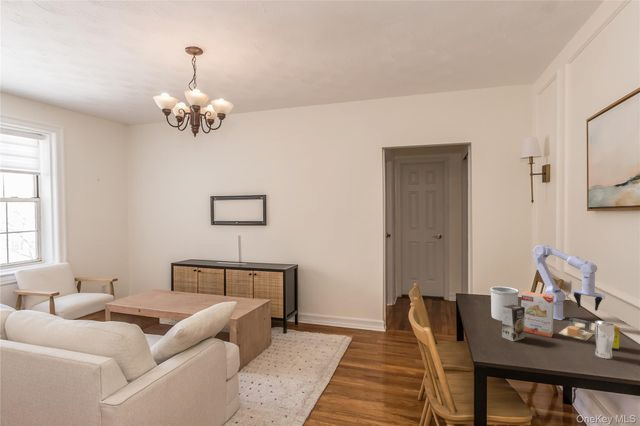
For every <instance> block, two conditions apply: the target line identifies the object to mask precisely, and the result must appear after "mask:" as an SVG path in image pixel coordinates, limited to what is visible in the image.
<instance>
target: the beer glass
mask: <svg viewBox="0 0 640 426" xmlns="http://www.w3.org/2000/svg"><path fill="white" fill-rule="evenodd" d="M594 324H595V327H594V341H595V345H596V346H595V347H596V348H595V351H594V355H595V356H596V357H599V358H601V359H604V358H605V359H606V360H612V359H613V352H612V345H613V341H614V325H615V324H614V323H612V322H609V321H605V320H594Z"/></svg>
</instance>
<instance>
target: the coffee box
mask: <svg viewBox="0 0 640 426" xmlns="http://www.w3.org/2000/svg"><path fill="white" fill-rule="evenodd" d="M501 322H502V325H501V326H502V327H501V338H503V339H506V340H508V341H511V342H517V341H520V340H523V339H525V332H524V322H525V307H522V306H521V305H519V304H518V305H508V306H503V320H502V321H501Z"/></svg>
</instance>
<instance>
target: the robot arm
mask: <svg viewBox="0 0 640 426" xmlns="http://www.w3.org/2000/svg"><path fill="white" fill-rule="evenodd" d="M532 253H533V262H534V265H535V266H536V268H537V271H538V272H539V275H540V277H541V279H542V281H543V283H544V286H545V287H546V289H545V295H552V296H554V312H553V320H558V321H563V320H564V319H565V318H566V316H564V301H565V300H566V294H565V293H564V292H563V291H562V289H561V288H560V287H559V286H557V284H556V281H555V279H554V277H553V275H552V273H551V271H550V269H549V267H548V265H547V263H546V260H547V258H548V257H549V256H555V257H557V258H559V259H562V260H564V261H566V262H567V265H569V266H571V267H573V268H576V269H578V270H580V272H581V290H579V289H571V294H573V297H574V299H575V301H576V304H577V308H580V307H581V306H582V305H581V304H582V303H581V301H582V296H588V297H593V298H594V301H595V302H594V303H595V305H594V311H597V312H598V310H599V305H600V304H601V302H602V301H603V300H605V299H606V294H603V293H597V292H595V291H596V289H595V288H596V287H595V286H596V272H598V271H597V270H598V267H597V265H596V264H595V263H593V262H588V260H584V259H583V258H580V256H578V255H571V256H570V255H569V254H567V253H566V252H563V251H561V250H560V249H558V248H556V247H554V246H552V245H549V244H541V245H536V246H535V247H534V248H533V250H532Z"/></svg>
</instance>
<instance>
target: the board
mask: <svg viewBox="0 0 640 426" xmlns="http://www.w3.org/2000/svg"><path fill="white" fill-rule="evenodd" d="M576 326H578V327H580V334H579V335H578V336H577V337H576V336H572V335H568V334H567V328H568V327H569V325H567V326H566V327H565V328H563V329H562V330H561V331H559V332H557V334H558V335H562V336H564V337H569V338H574V339H579V340H582V341H585V342H587V341H588V340H589V339H590V338H591V337H592V336H593V335H594V327H595V322H594V323H593V322H591V331H590V332H585V324H582V323H578V322H575V327H576ZM594 336H595V335H594Z"/></svg>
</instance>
